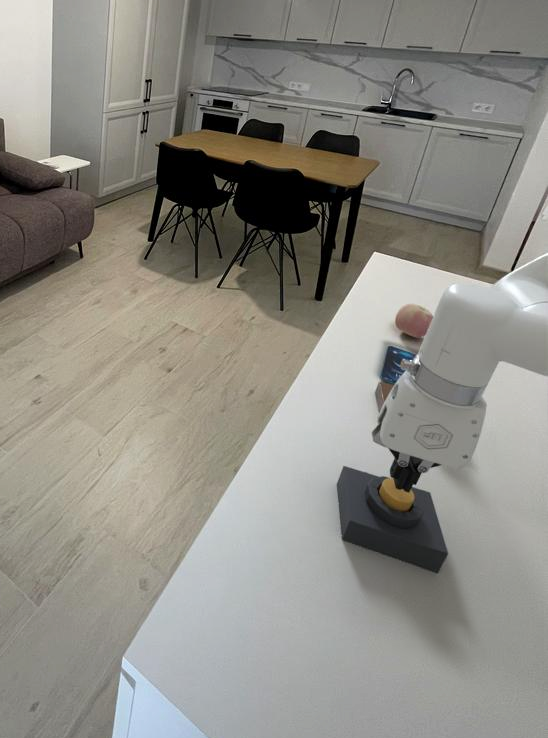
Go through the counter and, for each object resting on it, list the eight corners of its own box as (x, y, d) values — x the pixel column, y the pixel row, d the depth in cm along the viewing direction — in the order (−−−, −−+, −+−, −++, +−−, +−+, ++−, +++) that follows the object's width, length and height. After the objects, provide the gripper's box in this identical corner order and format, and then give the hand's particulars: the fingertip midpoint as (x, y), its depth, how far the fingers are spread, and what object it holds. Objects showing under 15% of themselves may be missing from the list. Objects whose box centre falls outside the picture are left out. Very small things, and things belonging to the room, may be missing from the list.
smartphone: (426, 357, 111) (422, 393, 99) (425, 359, 111) (421, 396, 100) (388, 344, 115) (379, 377, 103) (387, 346, 115) (379, 379, 103)
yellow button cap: (407, 492, 72) (411, 483, 71) (413, 515, 68) (417, 507, 68) (377, 482, 73) (380, 474, 72) (381, 505, 69) (385, 496, 69)
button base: (421, 511, 75) (434, 483, 73) (437, 574, 67) (453, 544, 64) (336, 484, 79) (346, 456, 77) (341, 540, 70) (353, 511, 68)
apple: (426, 349, 115) (438, 320, 112) (390, 337, 119) (400, 308, 115) (426, 333, 121) (437, 305, 118) (391, 322, 125) (401, 294, 122)
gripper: (385, 380, 61) (344, 485, 68) (530, 417, 57) (469, 526, 64) (377, 346, 67) (340, 445, 75) (505, 377, 63) (453, 480, 70)
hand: (400, 482), depth 69 cm, fingers closed
